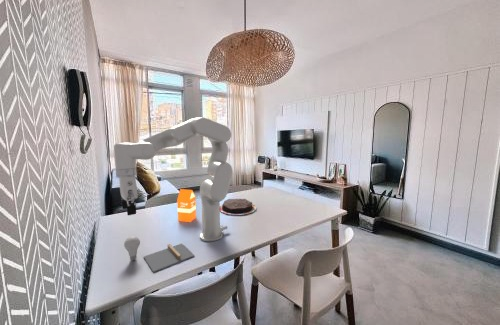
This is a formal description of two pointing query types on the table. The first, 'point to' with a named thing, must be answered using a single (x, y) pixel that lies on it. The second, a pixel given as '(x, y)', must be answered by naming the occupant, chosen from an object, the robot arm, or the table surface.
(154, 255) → the mat
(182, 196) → the orange juice
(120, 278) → the table surface
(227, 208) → the chocolate cake
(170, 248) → the rail
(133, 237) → the lightbulb
